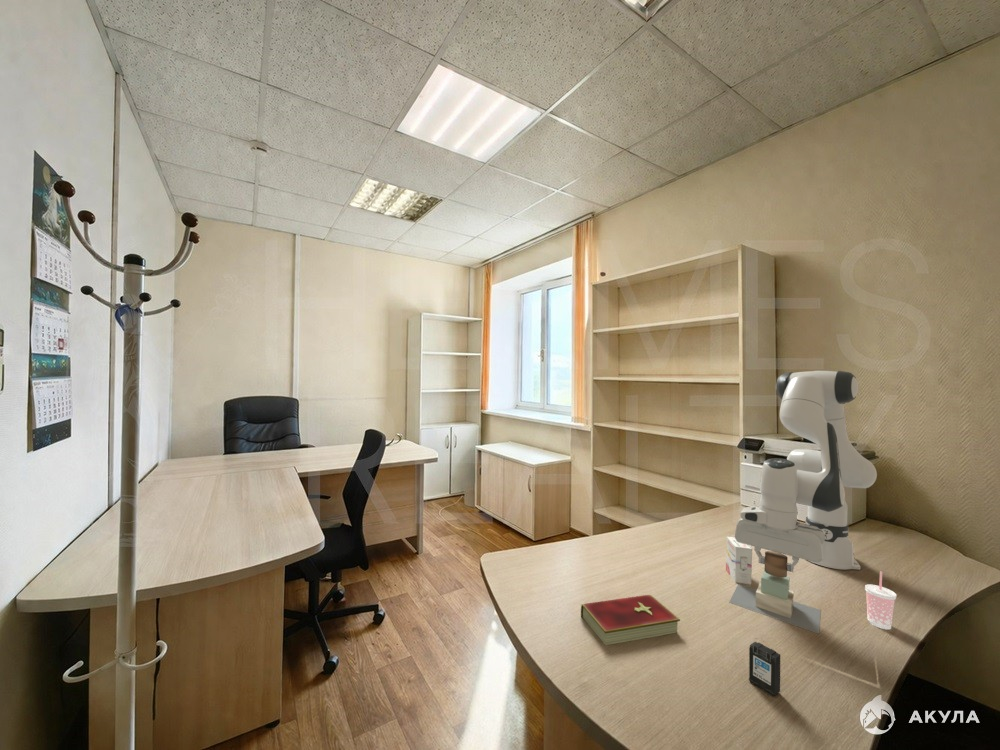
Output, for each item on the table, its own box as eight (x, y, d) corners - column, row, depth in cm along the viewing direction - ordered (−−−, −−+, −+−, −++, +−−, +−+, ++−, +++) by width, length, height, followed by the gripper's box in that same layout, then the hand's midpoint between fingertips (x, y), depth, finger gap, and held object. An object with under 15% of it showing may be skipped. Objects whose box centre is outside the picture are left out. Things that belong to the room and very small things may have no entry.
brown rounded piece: (765, 566, 116) (766, 549, 116) (787, 572, 113) (788, 555, 113) (763, 572, 112) (763, 555, 112) (785, 579, 109) (786, 561, 109)
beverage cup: (898, 634, 102) (900, 579, 102) (866, 625, 106) (868, 572, 106) (891, 622, 108) (893, 570, 107) (861, 614, 111) (863, 563, 111)
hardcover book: (580, 618, 105) (581, 602, 105) (648, 607, 111) (649, 592, 111) (604, 648, 94) (605, 630, 94) (679, 635, 100) (680, 618, 100)
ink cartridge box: (724, 571, 133) (726, 527, 133) (741, 573, 132) (742, 528, 132) (734, 584, 125) (736, 537, 125) (751, 586, 124) (753, 538, 124)
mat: (738, 585, 124) (738, 583, 124) (820, 611, 111) (820, 610, 111) (728, 603, 114) (728, 602, 114) (818, 635, 101) (818, 633, 101)
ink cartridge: (748, 681, 84) (749, 643, 85) (754, 677, 86) (754, 640, 86) (774, 697, 80) (775, 657, 80) (780, 693, 81) (780, 653, 82)
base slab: (759, 594, 118) (760, 581, 118) (793, 605, 113) (793, 591, 113) (755, 606, 112) (755, 592, 112) (790, 618, 107) (791, 603, 107)
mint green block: (763, 583, 117) (764, 570, 117) (789, 591, 113) (789, 577, 113) (760, 592, 112) (761, 577, 112) (787, 600, 108) (787, 585, 108)
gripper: (825, 524, 108) (823, 576, 108) (738, 506, 121) (736, 552, 121) (824, 531, 103) (822, 584, 103) (734, 511, 117) (732, 558, 117)
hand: (775, 566), depth 112 cm, fingers closed on brown rounded piece, 5 cm apart
